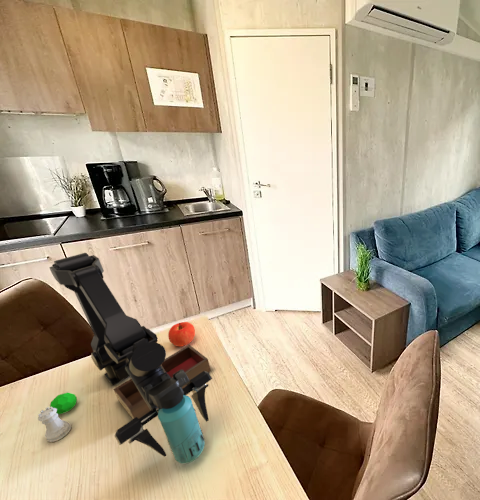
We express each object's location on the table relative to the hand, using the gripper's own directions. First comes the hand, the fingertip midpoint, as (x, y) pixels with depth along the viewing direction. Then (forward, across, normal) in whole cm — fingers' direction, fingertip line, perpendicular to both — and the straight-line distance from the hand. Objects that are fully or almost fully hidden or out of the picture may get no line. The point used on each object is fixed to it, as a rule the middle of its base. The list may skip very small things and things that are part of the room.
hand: (187, 437), depth 62 cm
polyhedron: (-23, -13, +33) cm, 42 cm away
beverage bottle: (+4, 0, +6) cm, 7 cm away
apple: (-23, +18, +33) cm, 44 cm away
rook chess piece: (-18, -16, +28) cm, 37 cm away
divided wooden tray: (-13, +6, +23) cm, 27 cm away
